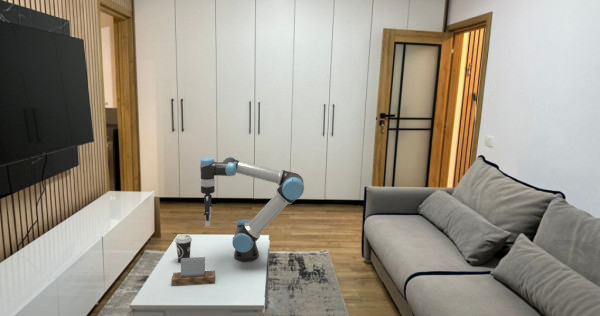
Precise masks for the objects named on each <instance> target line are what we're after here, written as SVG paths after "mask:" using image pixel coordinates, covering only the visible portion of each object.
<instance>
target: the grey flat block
mask: <svg viewBox="0 0 600 316" xmlns="http://www.w3.org/2000/svg"><path fill="white" fill-rule="evenodd" d="M205 258H206V257H205V256H203V257H202V256H201V257H200V256H197V257H190V258H181V263H180V272H181V277H197V276H198V277H200V276H205V271H206V266H205V265H206V263H205V262H206V261H205V260H206V259H205Z"/></svg>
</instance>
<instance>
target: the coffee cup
mask: <svg viewBox="0 0 600 316" xmlns="http://www.w3.org/2000/svg"><path fill="white" fill-rule="evenodd" d="M192 239H193V238H192V237H191V235H190V234H185V233H184V234H179V235H177V236H176V237H175V240H174V242H175V246H176V253H177V261H178V263H180V264H181V258H191V248H192V246H191V245H192V241H193V240H192Z"/></svg>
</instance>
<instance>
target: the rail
mask: <svg viewBox="0 0 600 316" xmlns="http://www.w3.org/2000/svg"><path fill="white" fill-rule="evenodd" d="M170 280H171V287H173V286H176V287H177V286H191V285H194V286H196V285H209V284H213V285H214V284H215V283H216V270H205V276H200V277H198V276H197V277H181V271H179V272H177V271H175V272H173V273H172V277H171V279H170Z"/></svg>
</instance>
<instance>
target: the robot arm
mask: <svg viewBox="0 0 600 316" xmlns="http://www.w3.org/2000/svg"><path fill="white" fill-rule="evenodd" d="M199 167H200V168H199V169H200V170H199V171H200V179H199V182H200V193H201V194H203V195H204V194H205V195H204V197H203V198H204V213H203V216H204V226H205V227H211V219H212V207H213V204H212V199H213V198H212V196H213V195H212V194H213V193H215V192H216V191H215V190H216V189H215V176H217V177H219V176H220V177H235V176H236V174H239V175H243V176H245V177H246V176H247V177H251V178H255V179H259V180H261V181H266V182H269V183H270V182H271V183H275V184H277V186H279V187H277V188H276V194H274V196H272V198H271V199H270V200H269V201H268V202H267V203H266V204H265V205H264V206H263V207H262V208H261V210H260V211H258V212H257V214H256V215H255V216H254V217H253V218H252V219H249V218H247V219H239V220H237V222H236V230H235V233H234V235H233V237H232V246H233V248H234V249H235V250H234V253H233V258H234V260H236V261H238V262H239V261H240V262H251V261H252V262H253V261H256V260H257V259H258V258H259V257H260V253H259V249H258V246H257V241H258V240H259V239H260V237H261V233H262V232H263V231H264V230H265V228H267V226H269V225H270V223H272V221H273V220H274V219H275V218H276V217H277V216H278V214H280V213H281V212H282V211H283V210H284V209H285V208H286V206H287V205H291V204H293V203H294V202H295V201H296V200H298V199H300V198H301V197H302V195H303V193H304V190H305V185H304V179H303V177H302V176H301V175H300V174H299V173H296V172H292V171H288V170H285V169H283V170H277V169H274V168H269V167H265V166H262V165H258V164H254V163H250V162H246V161H242V160H239V159H235V157H231V156H229V157H226V158H225V159H224V160H223V161H222V162H221V161H219V162H218V161H217V162H216V161H215V159H214V158H213V157H203V158H201V159H200V165H199Z"/></svg>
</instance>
